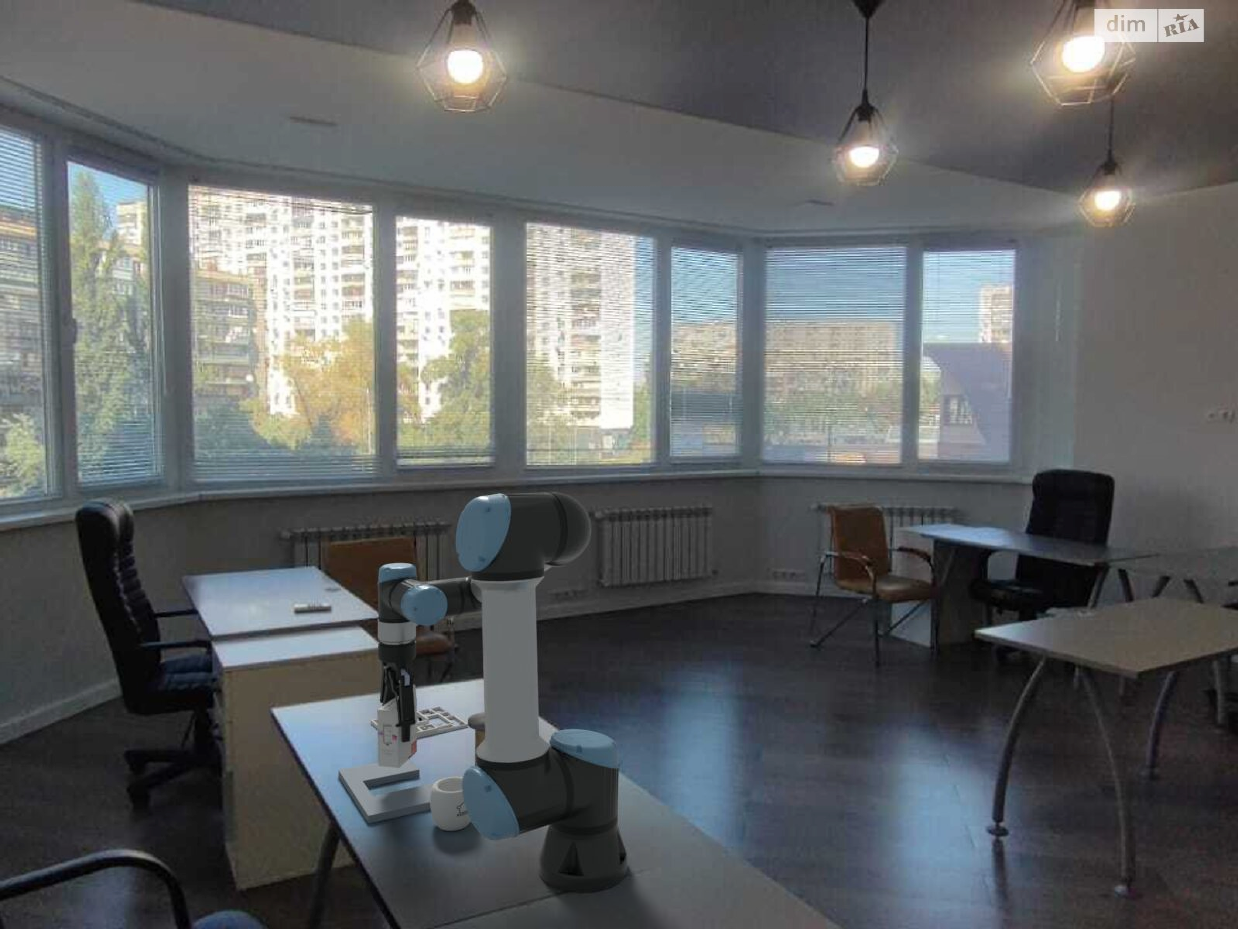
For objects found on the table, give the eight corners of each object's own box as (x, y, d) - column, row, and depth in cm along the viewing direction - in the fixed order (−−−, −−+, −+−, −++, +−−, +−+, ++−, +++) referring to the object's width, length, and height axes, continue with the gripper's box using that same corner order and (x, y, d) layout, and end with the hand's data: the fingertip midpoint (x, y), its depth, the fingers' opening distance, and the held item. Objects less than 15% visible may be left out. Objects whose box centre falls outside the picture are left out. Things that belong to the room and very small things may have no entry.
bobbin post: (519, 791, 177) (519, 722, 176) (473, 802, 172) (473, 730, 171) (499, 773, 185) (500, 707, 185) (455, 783, 180) (455, 715, 179)
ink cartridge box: (395, 750, 181) (395, 681, 180) (417, 752, 180) (417, 683, 180) (376, 766, 173) (376, 694, 172) (399, 769, 172) (399, 696, 171)
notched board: (445, 806, 170) (445, 798, 170) (368, 823, 162) (368, 815, 162) (408, 763, 190) (408, 756, 190) (338, 776, 183) (338, 770, 182)
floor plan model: (342, 726, 213) (342, 718, 213) (435, 707, 228) (435, 700, 228) (369, 751, 198) (369, 742, 198) (468, 728, 213) (468, 720, 213)
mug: (439, 839, 156) (439, 797, 156) (423, 820, 164) (423, 780, 163) (500, 824, 163) (500, 783, 162) (482, 806, 170) (483, 767, 169)
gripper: (432, 650, 168) (432, 763, 169) (399, 626, 186) (399, 727, 188) (394, 655, 164) (394, 771, 165) (364, 629, 183) (364, 733, 184)
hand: (396, 747), depth 176 cm, fingers closed on ink cartridge box, 9 cm apart
